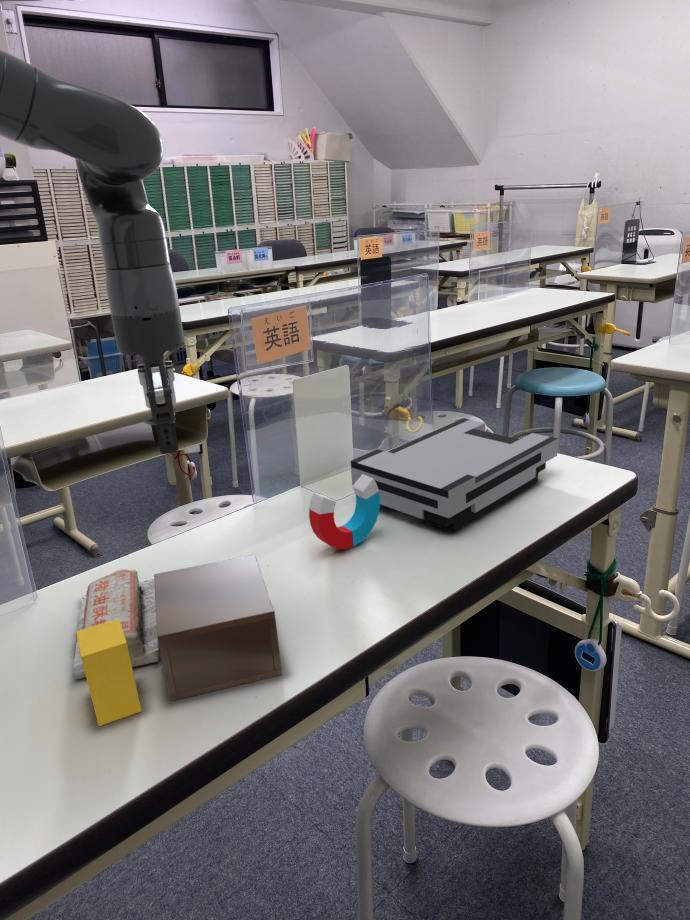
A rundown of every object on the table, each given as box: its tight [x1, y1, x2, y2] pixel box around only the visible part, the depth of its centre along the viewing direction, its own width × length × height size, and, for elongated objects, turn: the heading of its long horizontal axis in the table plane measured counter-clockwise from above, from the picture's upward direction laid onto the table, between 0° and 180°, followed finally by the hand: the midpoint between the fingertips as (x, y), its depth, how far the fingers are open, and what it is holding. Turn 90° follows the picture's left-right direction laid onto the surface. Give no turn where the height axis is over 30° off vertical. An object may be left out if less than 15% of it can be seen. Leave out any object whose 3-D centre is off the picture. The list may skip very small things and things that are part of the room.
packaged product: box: [72, 568, 160, 680], centre depth 88 cm, size 18×5×10 cm
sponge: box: [75, 619, 142, 727], centre depth 74 cm, size 4×5×9 cm
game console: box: [350, 417, 559, 534], centre depth 121 cm, size 21×32×8 cm, turn 134°
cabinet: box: [153, 554, 283, 702], centre depth 81 cm, size 14×13×9 cm
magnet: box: [308, 474, 381, 550], centre depth 104 cm, size 12×3×10 cm, turn 128°
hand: (169, 451), depth 83 cm, fingers closed
